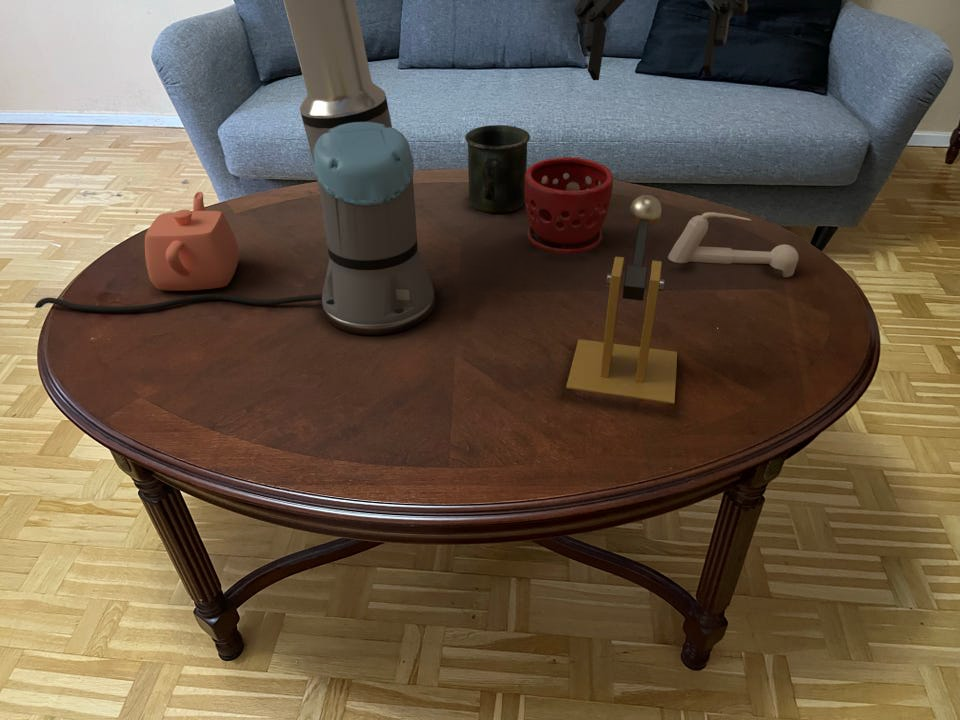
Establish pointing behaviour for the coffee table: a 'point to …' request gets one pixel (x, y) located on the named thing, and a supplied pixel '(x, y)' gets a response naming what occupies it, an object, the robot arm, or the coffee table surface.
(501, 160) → the mug
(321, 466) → the coffee table surface
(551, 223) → the flower pot
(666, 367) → the yellow post stand
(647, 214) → the black lever with ball
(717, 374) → the coffee table surface
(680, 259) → the faucet
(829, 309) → the coffee table surface
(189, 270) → the teapot
